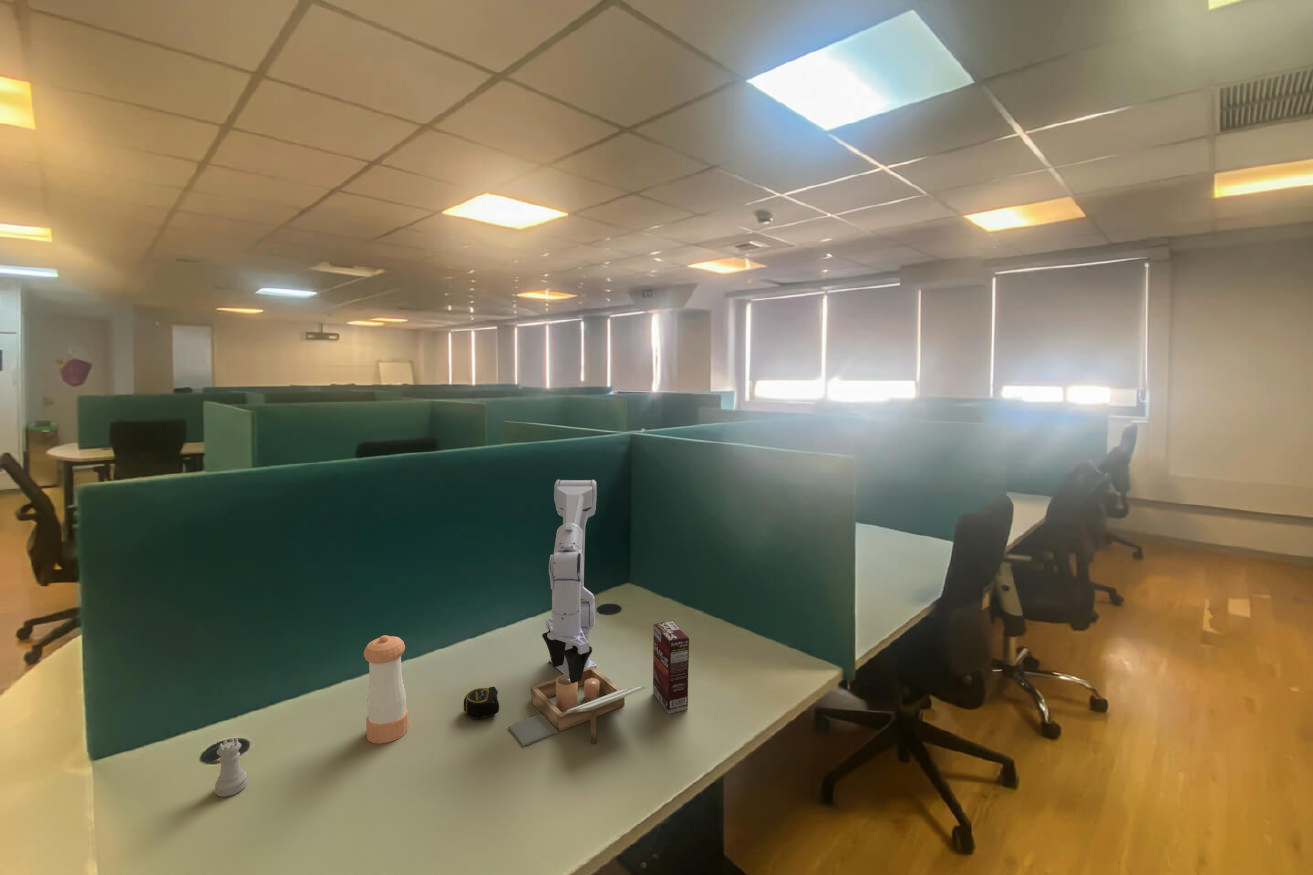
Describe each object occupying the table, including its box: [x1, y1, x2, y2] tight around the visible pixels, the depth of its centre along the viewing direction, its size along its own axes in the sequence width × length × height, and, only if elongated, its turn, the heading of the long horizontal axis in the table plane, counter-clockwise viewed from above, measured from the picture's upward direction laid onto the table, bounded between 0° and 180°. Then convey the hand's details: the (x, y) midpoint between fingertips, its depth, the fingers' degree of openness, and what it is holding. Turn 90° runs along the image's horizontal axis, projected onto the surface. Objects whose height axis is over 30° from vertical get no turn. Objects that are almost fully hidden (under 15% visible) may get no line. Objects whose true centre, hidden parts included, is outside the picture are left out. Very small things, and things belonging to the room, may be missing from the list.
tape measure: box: [463, 686, 500, 719], centre depth 116 cm, size 7×7×4 cm
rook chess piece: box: [214, 737, 249, 798], centre depth 93 cm, size 4×4×8 cm
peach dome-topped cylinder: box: [555, 674, 579, 713], centre depth 117 cm, size 4×4×6 cm
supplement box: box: [652, 620, 690, 715], centre depth 119 cm, size 9×5×16 cm, turn 23°
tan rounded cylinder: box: [583, 678, 600, 702], centre depth 121 cm, size 3×3×4 cm
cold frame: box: [530, 666, 646, 745], centre depth 115 cm, size 22×15×9 cm
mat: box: [508, 712, 559, 747], centre depth 110 cm, size 7×7×1 cm
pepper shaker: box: [363, 634, 410, 745], centre depth 108 cm, size 7×7×19 cm
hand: (566, 673), depth 117 cm, fingers open, 7 cm apart
